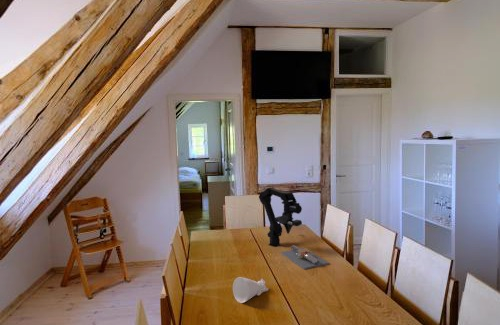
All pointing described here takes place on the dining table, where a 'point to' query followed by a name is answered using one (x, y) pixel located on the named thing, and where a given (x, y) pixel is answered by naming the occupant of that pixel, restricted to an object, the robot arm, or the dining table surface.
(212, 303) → the dining table surface
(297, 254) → the lever
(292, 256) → the mounting board
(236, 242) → the dining table surface
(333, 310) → the dining table surface
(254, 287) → the rocket engine
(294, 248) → the valve
